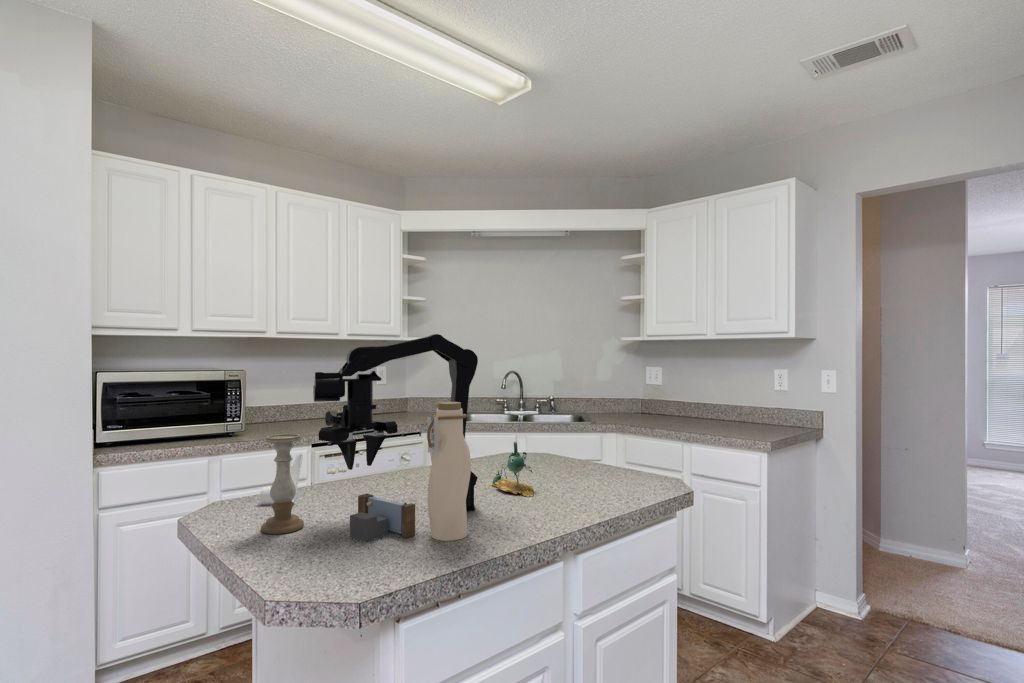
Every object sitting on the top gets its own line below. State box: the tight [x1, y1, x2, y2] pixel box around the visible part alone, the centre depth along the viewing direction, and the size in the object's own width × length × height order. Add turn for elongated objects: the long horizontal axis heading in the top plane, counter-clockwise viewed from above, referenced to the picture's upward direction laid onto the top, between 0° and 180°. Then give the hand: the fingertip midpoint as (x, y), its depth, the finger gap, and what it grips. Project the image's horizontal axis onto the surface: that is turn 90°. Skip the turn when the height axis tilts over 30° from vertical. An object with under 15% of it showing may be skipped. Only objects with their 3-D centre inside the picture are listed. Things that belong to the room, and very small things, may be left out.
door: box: [367, 496, 404, 535], centre depth 120 cm, size 11×2×6 cm, turn 54°
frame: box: [357, 493, 416, 539], centre depth 121 cm, size 16×2×7 cm, turn 54°
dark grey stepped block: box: [349, 512, 389, 543], centre depth 117 cm, size 5×6×5 cm
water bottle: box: [426, 401, 472, 542], centre depth 117 cm, size 10×9×28 cm
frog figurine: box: [491, 441, 535, 498], centre depth 156 cm, size 10×18×15 cm, turn 31°
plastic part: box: [259, 453, 303, 506], centre depth 145 cm, size 8×10×12 cm
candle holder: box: [260, 433, 305, 535], centre depth 122 cm, size 9×9×20 cm
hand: (359, 467), depth 129 cm, fingers open, 5 cm apart
